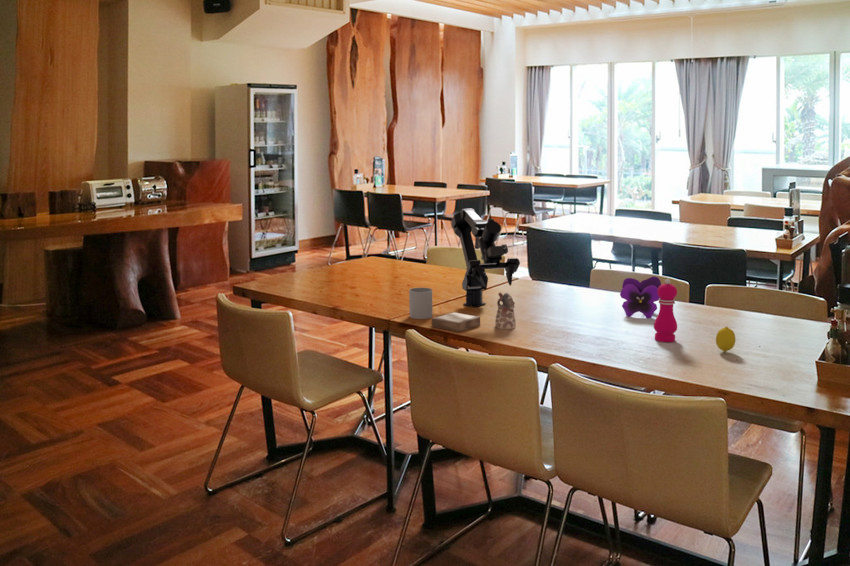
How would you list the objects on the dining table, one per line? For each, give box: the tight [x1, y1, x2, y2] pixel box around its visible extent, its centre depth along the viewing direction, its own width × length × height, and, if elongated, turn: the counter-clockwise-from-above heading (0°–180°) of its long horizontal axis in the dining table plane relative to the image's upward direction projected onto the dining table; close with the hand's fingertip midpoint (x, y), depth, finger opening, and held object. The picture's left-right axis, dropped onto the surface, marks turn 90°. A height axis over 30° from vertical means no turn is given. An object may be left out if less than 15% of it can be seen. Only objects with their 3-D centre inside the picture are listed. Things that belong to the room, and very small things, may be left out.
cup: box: [408, 287, 433, 320], centre depth 282 cm, size 8×8×10 cm
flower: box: [619, 276, 662, 319], centre depth 284 cm, size 15×15×14 cm
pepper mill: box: [653, 278, 678, 343], centre depth 246 cm, size 7×7×20 cm
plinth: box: [431, 311, 481, 333], centre depth 269 cm, size 12×12×3 cm
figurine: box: [494, 291, 517, 330], centre depth 266 cm, size 7×7×12 cm
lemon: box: [715, 326, 736, 353], centre depth 233 cm, size 6×6×8 cm
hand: (498, 285), depth 272 cm, fingers open, 9 cm apart
